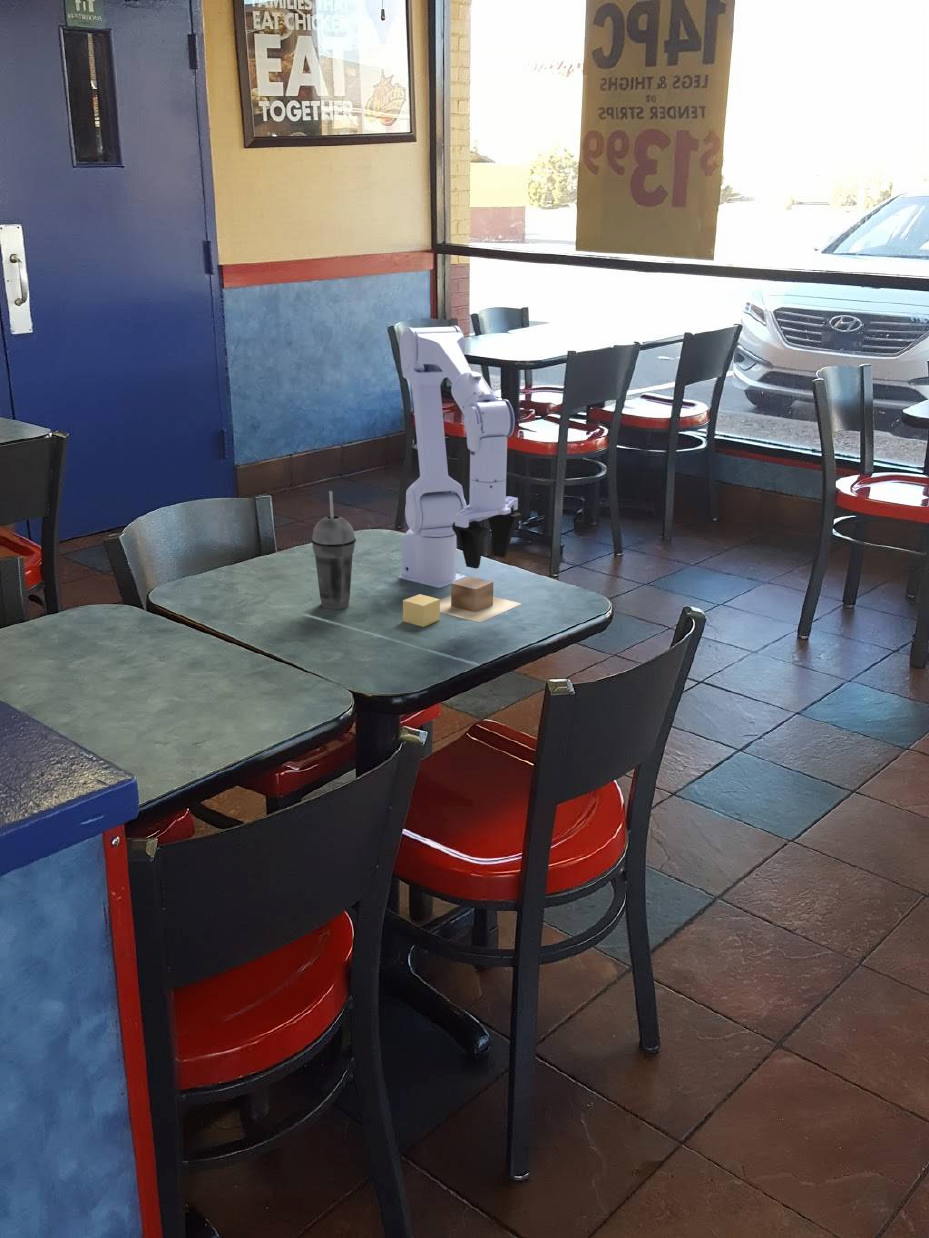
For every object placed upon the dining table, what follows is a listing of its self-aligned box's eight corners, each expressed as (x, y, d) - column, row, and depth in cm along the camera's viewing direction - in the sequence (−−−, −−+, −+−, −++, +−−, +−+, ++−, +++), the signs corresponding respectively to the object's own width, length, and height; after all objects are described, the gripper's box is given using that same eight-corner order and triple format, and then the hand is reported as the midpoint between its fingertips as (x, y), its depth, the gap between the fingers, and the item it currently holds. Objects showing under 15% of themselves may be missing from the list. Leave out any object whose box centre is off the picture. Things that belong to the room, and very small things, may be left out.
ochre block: (403, 624, 193) (402, 600, 192) (419, 617, 196) (419, 594, 195) (423, 629, 191) (423, 605, 190) (439, 622, 194) (439, 599, 193)
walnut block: (451, 606, 200) (451, 583, 199) (469, 598, 204) (469, 576, 203) (475, 612, 197) (475, 589, 196) (492, 604, 201) (493, 581, 200)
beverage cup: (360, 600, 204) (358, 485, 197) (352, 615, 197) (350, 495, 190) (318, 599, 204) (314, 483, 197) (309, 613, 197) (305, 494, 191)
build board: (421, 609, 200) (421, 607, 200) (464, 591, 209) (464, 589, 209) (479, 624, 193) (479, 622, 193) (522, 605, 202) (522, 603, 202)
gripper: (482, 490, 180) (480, 577, 185) (534, 473, 191) (531, 555, 196) (444, 483, 184) (444, 568, 189) (498, 467, 195) (496, 548, 200)
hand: (486, 561), depth 193 cm, fingers open, 7 cm apart
